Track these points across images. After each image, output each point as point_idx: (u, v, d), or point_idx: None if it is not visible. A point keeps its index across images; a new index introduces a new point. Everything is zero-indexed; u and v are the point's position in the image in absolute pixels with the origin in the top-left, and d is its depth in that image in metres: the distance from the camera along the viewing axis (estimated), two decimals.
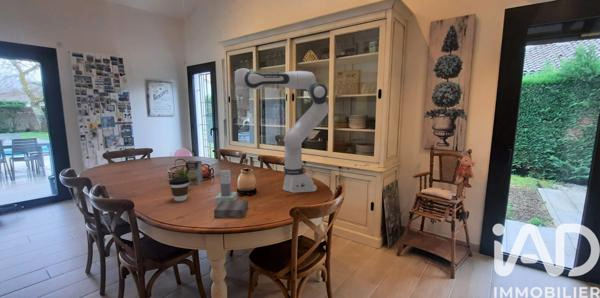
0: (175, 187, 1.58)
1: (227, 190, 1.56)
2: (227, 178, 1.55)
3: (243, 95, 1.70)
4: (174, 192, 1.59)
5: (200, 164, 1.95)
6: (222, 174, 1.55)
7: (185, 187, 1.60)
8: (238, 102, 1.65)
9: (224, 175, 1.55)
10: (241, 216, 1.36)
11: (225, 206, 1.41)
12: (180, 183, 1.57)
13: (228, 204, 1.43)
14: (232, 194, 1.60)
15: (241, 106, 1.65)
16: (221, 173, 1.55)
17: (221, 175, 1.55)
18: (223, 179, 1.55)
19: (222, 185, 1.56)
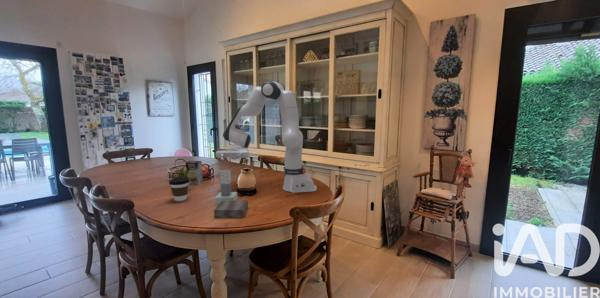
0: (175, 187, 1.58)
1: (227, 190, 1.56)
2: (227, 178, 1.55)
3: None
4: (174, 192, 1.59)
5: (200, 164, 1.96)
6: (222, 174, 1.55)
7: (185, 187, 1.60)
8: None
9: (224, 175, 1.55)
10: (241, 216, 1.36)
11: (225, 206, 1.41)
12: (180, 183, 1.57)
13: (228, 204, 1.43)
14: (232, 194, 1.60)
15: None
16: (221, 173, 1.55)
17: (221, 175, 1.55)
18: (223, 179, 1.55)
19: (222, 185, 1.56)
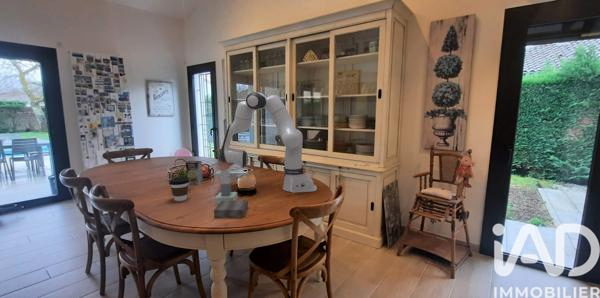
0: (175, 187, 1.58)
1: (227, 190, 1.56)
2: (227, 178, 1.55)
3: None
4: (174, 192, 1.59)
5: (200, 164, 1.95)
6: (222, 174, 1.55)
7: (185, 187, 1.60)
8: None
9: (224, 175, 1.55)
10: (241, 216, 1.36)
11: (225, 206, 1.41)
12: (180, 183, 1.57)
13: (228, 204, 1.43)
14: (232, 194, 1.60)
15: None
16: (221, 173, 1.55)
17: (221, 175, 1.55)
18: (223, 179, 1.55)
19: (222, 185, 1.56)
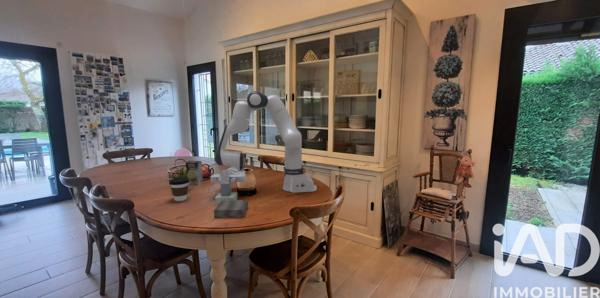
0: (175, 187, 1.58)
1: (227, 190, 1.56)
2: (227, 178, 1.55)
3: None
4: (174, 192, 1.59)
5: (200, 164, 1.95)
6: (222, 174, 1.55)
7: (185, 187, 1.60)
8: None
9: (224, 175, 1.55)
10: (241, 216, 1.36)
11: (225, 206, 1.41)
12: (180, 183, 1.57)
13: (228, 204, 1.43)
14: (232, 194, 1.60)
15: None
16: (221, 173, 1.55)
17: (221, 175, 1.55)
18: (223, 179, 1.55)
19: (222, 185, 1.56)
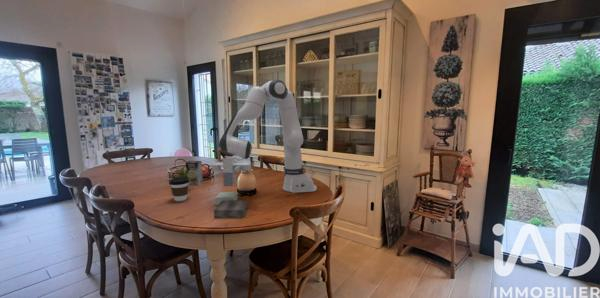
0: (175, 187, 1.58)
1: (230, 179, 1.41)
2: (230, 166, 1.40)
3: None
4: (174, 192, 1.59)
5: (200, 164, 1.96)
6: (225, 161, 1.39)
7: (185, 187, 1.60)
8: None
9: (226, 163, 1.39)
10: (241, 216, 1.36)
11: (225, 206, 1.41)
12: (180, 183, 1.57)
13: (228, 204, 1.43)
14: (232, 194, 1.60)
15: None
16: (224, 160, 1.39)
17: (224, 163, 1.39)
18: (226, 167, 1.40)
19: (225, 174, 1.40)
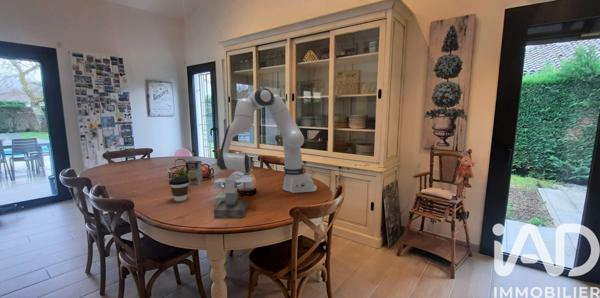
0: (175, 187, 1.58)
1: (233, 200, 1.40)
2: (233, 187, 1.39)
3: None
4: (174, 192, 1.59)
5: (200, 164, 1.95)
6: (228, 182, 1.38)
7: (185, 187, 1.60)
8: None
9: (229, 184, 1.38)
10: (241, 216, 1.36)
11: (225, 206, 1.41)
12: (180, 183, 1.57)
13: None
14: None
15: None
16: (226, 181, 1.38)
17: (226, 183, 1.38)
18: (228, 188, 1.39)
19: (227, 195, 1.39)
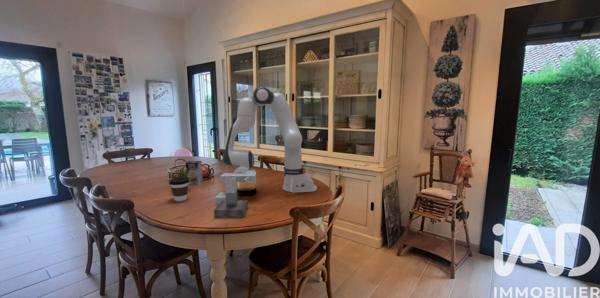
0: (175, 187, 1.58)
1: (233, 200, 1.40)
2: (233, 187, 1.39)
3: None
4: (174, 192, 1.59)
5: (200, 164, 1.96)
6: (228, 182, 1.38)
7: (185, 187, 1.60)
8: None
9: (229, 184, 1.38)
10: (241, 216, 1.36)
11: (225, 206, 1.41)
12: (180, 183, 1.57)
13: None
14: None
15: None
16: (226, 181, 1.38)
17: (226, 183, 1.38)
18: (228, 188, 1.39)
19: (227, 195, 1.39)
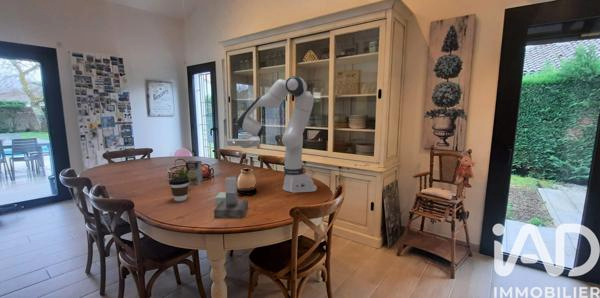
0: (175, 187, 1.58)
1: (233, 200, 1.40)
2: (233, 187, 1.39)
3: None
4: (174, 192, 1.59)
5: (200, 164, 1.95)
6: (228, 182, 1.38)
7: (185, 187, 1.60)
8: None
9: (229, 184, 1.38)
10: (241, 216, 1.36)
11: (225, 206, 1.41)
12: (180, 183, 1.57)
13: None
14: None
15: None
16: (226, 181, 1.38)
17: (226, 183, 1.38)
18: (228, 188, 1.39)
19: (227, 195, 1.39)
